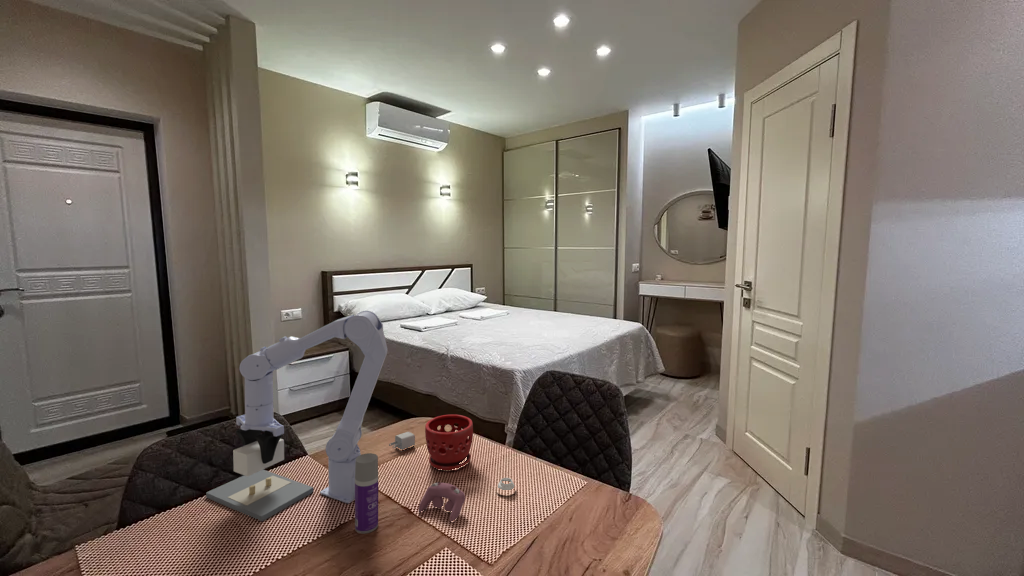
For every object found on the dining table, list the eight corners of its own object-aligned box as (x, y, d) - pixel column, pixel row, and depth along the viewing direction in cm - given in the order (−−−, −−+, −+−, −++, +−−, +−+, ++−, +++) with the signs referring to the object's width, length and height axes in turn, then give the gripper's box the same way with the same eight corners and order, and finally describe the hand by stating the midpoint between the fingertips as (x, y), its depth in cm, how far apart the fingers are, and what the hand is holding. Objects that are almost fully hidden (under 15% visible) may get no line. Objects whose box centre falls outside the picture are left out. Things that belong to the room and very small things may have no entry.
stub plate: (313, 492, 101) (313, 480, 101) (261, 521, 89) (261, 508, 89) (260, 472, 110) (259, 461, 109) (206, 497, 98) (205, 485, 98)
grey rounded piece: (515, 498, 101) (516, 487, 106) (515, 486, 100) (517, 476, 105) (494, 497, 101) (497, 486, 106) (494, 485, 101) (497, 475, 106)
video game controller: (462, 522, 93) (470, 488, 96) (453, 524, 89) (461, 488, 92) (426, 511, 97) (434, 478, 100) (415, 511, 93) (423, 478, 96)
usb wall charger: (414, 447, 127) (414, 434, 126) (394, 455, 121) (394, 441, 121) (407, 443, 129) (407, 430, 129) (387, 450, 124) (387, 437, 124)
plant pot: (433, 451, 124) (434, 412, 123) (476, 455, 122) (477, 415, 121) (417, 473, 111) (418, 429, 110) (465, 478, 109) (466, 433, 109)
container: (370, 535, 86) (371, 464, 85) (350, 531, 87) (350, 461, 86) (382, 521, 90) (382, 454, 90) (362, 518, 91) (362, 451, 90)
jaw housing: (284, 459, 102) (283, 439, 102) (247, 476, 94) (247, 454, 93) (270, 455, 104) (270, 435, 104) (233, 471, 96) (233, 450, 96)
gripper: (222, 402, 98) (223, 459, 98) (262, 413, 91) (263, 473, 92) (252, 394, 104) (253, 447, 105) (292, 404, 98) (292, 460, 99)
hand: (260, 459), depth 99 cm, fingers closed on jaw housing, 5 cm apart
